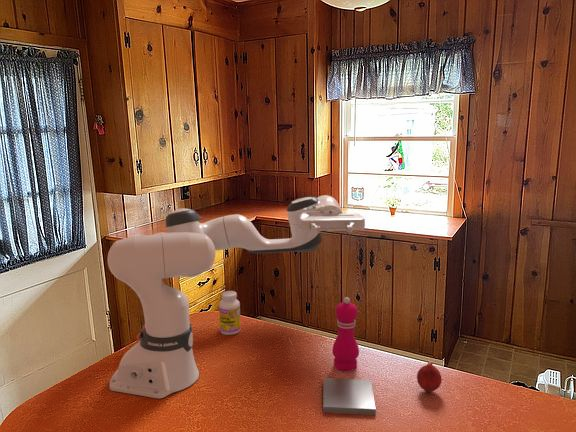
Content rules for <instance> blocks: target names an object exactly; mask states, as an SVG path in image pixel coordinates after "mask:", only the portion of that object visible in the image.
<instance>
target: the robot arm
mask: <svg viewBox="0 0 576 432" xmlns="http://www.w3.org/2000/svg"><path fill="white" fill-rule="evenodd" d="M286 214H287V219H288V223H289V226H290V227H289V228H290V232H291V237H290V238H289V237H288V238H273V239H269V238H266V237H264V236H263V235H261V234H260V232H259V231H258V230H257V228H256V227H255V226H254V224H253V223H252V222H251V220H250V219H249V218H248V217H246V216H244V215H242V214H238V213H236V214H229V215H224V216H221V217H216V218H212V219H211V220H208V221H205V222H201V221H200V220H201V219H204V216H200V215H199V213H198V212H197V211H195V210H194V209H190V208H185V207H184V208H182V207H181V208H177V209H175V210H173V211H172V212H170V213H169V214H167V215H166V217H165V228H166V231H167V232H163V231H161V232H155V233H153V234H147V235H146V234H143V235H134V236H130V237H125V238H123V239H122V238H121V239H118V240H116V241H114V242H113V244H112V245H111V246H110V248H109V250H108V253H107V266H108V269H109V271H110V273H111V274H112V275H113V276H114V278H116V279H117V280H119V281H121V282H123V283H124V284H126V285H127V286H128V287H130V288H131V290H133V291H134V292H135V294H136V295H137V296H138V299H139V301H140V303H141V306H142V310H143V317H144V324H143V325H142V328H141V329H140V331H139V332H138V334H137V335H136V341H137V342H138V341H139V342H138V343H136V344H134V345H133V346H132V347H131V348H130V349H128V350H127V351H126V352H125V353H124V354H123V356H122V357H121V360H120V361H119V364H118V368H117V369H116V371H115V372H114V373H113V375H112V376H111V377H110V380H109V390H110V391H112V392H118V393H119V392H120V393H125V394H130V395H136V396H142V397H149V398H154V399H162V398H163V399H164V398H165V397H168V396H169V395H171V394H173V393H176V392H179V391H182V390H184V389H187V388H189V387H191V386H192V385H194V384H195V383H196V381H197V380H198V378H199V377H200V376H199V375H200V371H199V369H198V367H197V363H196V360H195V356H194V352H193V344H194V335H193V328H192V323H191V322H190V320H191V319H190V305H189V303H190V301H189V299H188V297H187V295H186V294H185V293H184V292H183V291H181V290H179V289H177V288H175V287H171V286H169V285H167V284H165V283H164V282H163V279H169V278H179V277H181V278H182V277H186V278H193V277H198V276H199V275H201V274H203V273H204V272H209V270H210V269H211V268H212V266H213V265H214V263H215V260H216V259H215V258H216V251H222V250H228V249H234V248H241V249H245V250H246V251H247V252H248V253H251V254H274V253H275V254H277V253H295V252H298V253H309V252H311V253H312V252H314V251H317V250H318V248H319V247H320V246H321V244H322V241H323V237H322V233H321V232H335V231H338V232H339V231H346V232H347V233H353V231H363V230H365V228H366V219H365V217H364V216H363V215H361V214H360V213H356V212H355V213H353V212H352V213H349V212H346V213H344V212H343V211H342V208H341V207H340V204H339V202H338V201H337V199H336V198H334V197H333V196H331V195H327V194H324V195H319V196H318V197H315V196H312V195H308V196H301V197H298V198H295V199H294V200H292V201H291V202H290V204H288V205H287V208H286Z"/></svg>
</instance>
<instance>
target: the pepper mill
mask: <svg viewBox="0 0 576 432" xmlns="http://www.w3.org/2000/svg"><path fill="white" fill-rule="evenodd" d="M334 313H335V314H334V315H335V317H336V318H337V319H336V322H337V323H336V325H337V327H338V331H337V335H336V339H335V340H334V342H333V345H332V350H331V351H332V355H333V357H334V359H333V366H334V368H335V369H337V370H338V371H340V372H346V373H347V372H352V371H354V370H356V369H357V368H358V360H357V359H358V357H359V354H360V348H359V344H358V343H357V342H358V341H357V340H356V337H355V332H354V331H355V329H354V328H355V327H356V319H357V317H358V313H359V312H358V308H357V306H356V305H355V304H354V303H353V302H352V301H351V299H350V298H349V297H348V296H345V297H344V298H343V301H342V302H339V303H338V304H337V305H336V307H335V310H334Z"/></svg>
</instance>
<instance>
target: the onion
mask: <svg viewBox="0 0 576 432" xmlns="http://www.w3.org/2000/svg"><path fill="white" fill-rule="evenodd" d="M416 379H417V383H418V385H419V387H420V388H421V389H422V390H424V391H425V392H427V393H432V392H434V391H437V389H439V388H440V387H441V385H442V375H441V372H440V370H439V369H438V368H437V367H436V366H434V365H433V362H432V361H429V362H428V361H427V364H425V365H422V366H421V368H419V369H418V371H417V373H416Z"/></svg>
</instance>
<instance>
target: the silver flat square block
mask: <svg viewBox="0 0 576 432" xmlns="http://www.w3.org/2000/svg"><path fill="white" fill-rule="evenodd" d="M322 381H323V383H322V384H323V391H322V394H323V397H322V399H323V400H322V401H323V402H322V403H323V404H322V405H323V406H322V407H323V408H322V411H323V412H322V413H325V414H344V415H345V414H346V415H348V414H349V415H350V414H351V415H372V416H373V415H374V416H376V415H377V414H376V413H377V409H376V402H375V396H374V391H373V385H372V379H363V378H362V379H357V378H356V379H355V378H334V377H333V378H332V377H331V378H330V377H329V378H328V377H323V380H322Z"/></svg>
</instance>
